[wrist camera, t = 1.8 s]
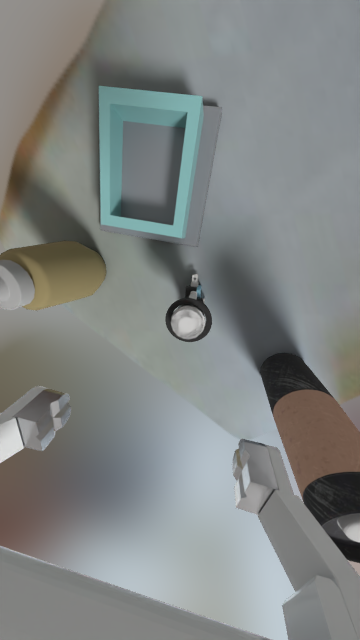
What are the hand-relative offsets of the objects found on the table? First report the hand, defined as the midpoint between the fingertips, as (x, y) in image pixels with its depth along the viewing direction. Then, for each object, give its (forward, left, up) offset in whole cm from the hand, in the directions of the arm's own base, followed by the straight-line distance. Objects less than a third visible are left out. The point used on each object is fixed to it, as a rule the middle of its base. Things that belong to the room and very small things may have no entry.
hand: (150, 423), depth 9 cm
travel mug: (-17, +10, -23) cm, 30 cm away
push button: (0, 0, -23) cm, 23 cm away
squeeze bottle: (+18, -1, -23) cm, 29 cm away
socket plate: (+8, -14, -23) cm, 28 cm away
